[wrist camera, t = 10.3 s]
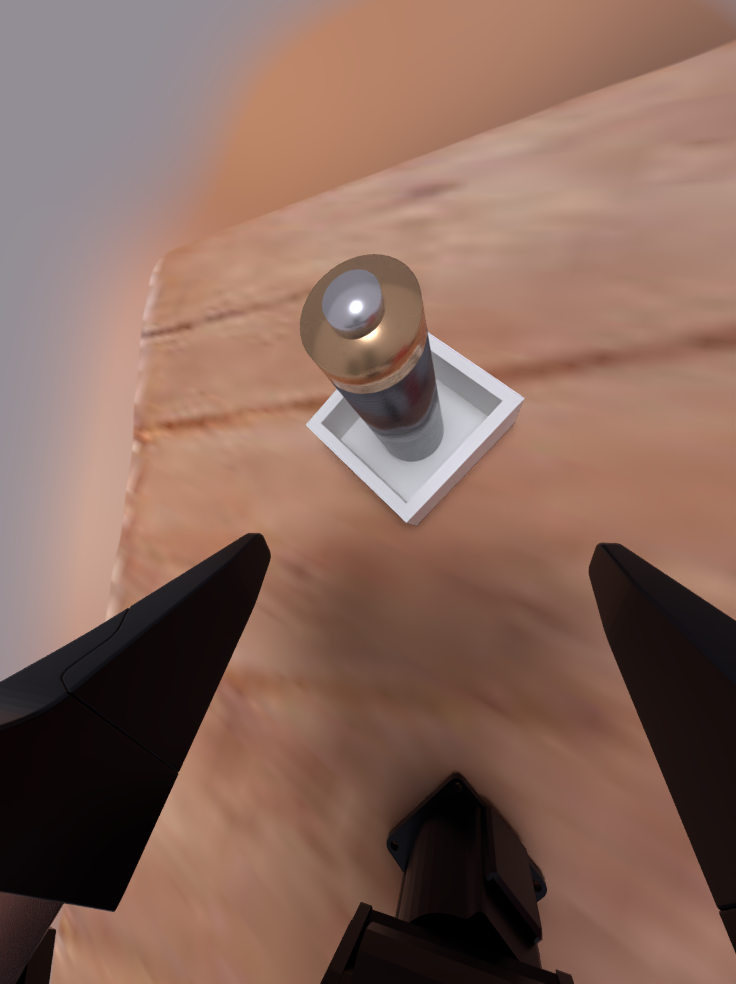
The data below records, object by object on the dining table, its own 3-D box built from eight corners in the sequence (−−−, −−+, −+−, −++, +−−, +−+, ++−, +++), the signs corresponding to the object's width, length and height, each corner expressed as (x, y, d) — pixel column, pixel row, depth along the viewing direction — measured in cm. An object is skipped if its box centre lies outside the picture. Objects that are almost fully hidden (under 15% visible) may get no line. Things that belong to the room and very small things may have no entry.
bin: (416, 525, 22) (406, 522, 18) (329, 442, 25) (305, 425, 21) (514, 423, 21) (524, 398, 17) (411, 349, 24) (402, 314, 20)
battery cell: (434, 467, 22) (395, 370, 9) (376, 454, 23) (273, 353, 11) (451, 408, 22) (435, 235, 10) (392, 398, 24) (311, 236, 11)
